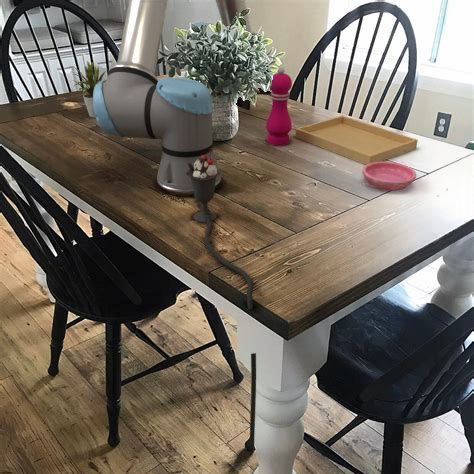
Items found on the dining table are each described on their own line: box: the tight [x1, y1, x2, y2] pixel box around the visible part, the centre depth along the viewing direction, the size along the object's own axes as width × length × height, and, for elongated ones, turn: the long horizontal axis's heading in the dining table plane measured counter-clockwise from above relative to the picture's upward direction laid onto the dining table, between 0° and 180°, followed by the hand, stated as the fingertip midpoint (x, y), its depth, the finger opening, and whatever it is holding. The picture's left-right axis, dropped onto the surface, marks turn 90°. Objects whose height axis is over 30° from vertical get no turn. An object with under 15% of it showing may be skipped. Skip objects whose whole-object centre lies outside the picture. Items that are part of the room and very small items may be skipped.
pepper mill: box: [265, 66, 293, 146], centre depth 149 cm, size 7×7×20 cm
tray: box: [294, 115, 419, 166], centre depth 153 cm, size 28×20×2 cm
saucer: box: [361, 161, 417, 192], centre depth 130 cm, size 12×12×3 cm
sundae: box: [186, 147, 221, 223], centre depth 112 cm, size 7×7×15 cm
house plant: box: [69, 60, 107, 118], centre depth 171 cm, size 14×14×16 cm
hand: (268, 100), depth 152 cm, fingers open, 13 cm apart
